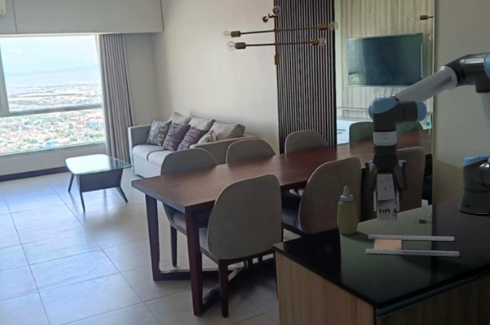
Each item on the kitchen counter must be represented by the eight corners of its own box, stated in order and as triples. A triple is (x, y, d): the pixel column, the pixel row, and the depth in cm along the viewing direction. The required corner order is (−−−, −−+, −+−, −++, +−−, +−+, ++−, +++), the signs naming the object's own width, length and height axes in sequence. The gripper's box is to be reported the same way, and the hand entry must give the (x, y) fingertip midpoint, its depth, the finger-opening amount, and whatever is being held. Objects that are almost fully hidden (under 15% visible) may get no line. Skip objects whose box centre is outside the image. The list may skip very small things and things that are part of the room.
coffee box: (397, 221, 166) (396, 173, 164) (377, 221, 168) (376, 174, 165) (395, 213, 175) (394, 168, 172) (376, 213, 176) (375, 169, 174)
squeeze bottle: (339, 228, 196) (337, 184, 193) (360, 229, 193) (358, 184, 190) (335, 235, 188) (333, 188, 185) (357, 236, 186) (355, 189, 183)
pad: (401, 241, 177) (401, 239, 177) (401, 251, 167) (401, 250, 166) (375, 240, 180) (375, 239, 180) (373, 250, 169) (373, 249, 169)
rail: (453, 239, 174) (453, 236, 174) (459, 256, 159) (458, 252, 159) (368, 237, 183) (368, 234, 183) (365, 253, 168) (365, 249, 167)
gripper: (354, 146, 167) (356, 212, 170) (416, 144, 161) (417, 213, 164) (356, 143, 174) (358, 207, 177) (415, 141, 168) (416, 207, 171)
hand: (386, 210), depth 171 cm, fingers closed on coffee box, 7 cm apart
